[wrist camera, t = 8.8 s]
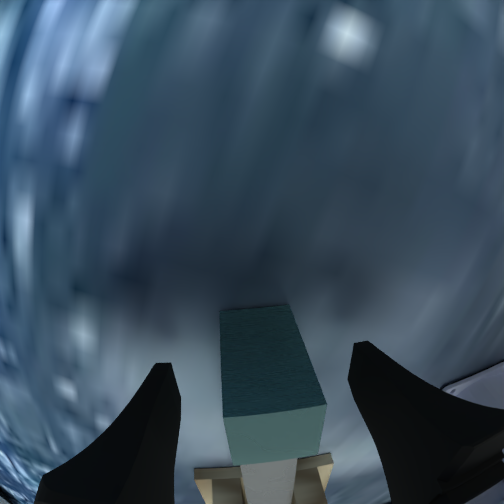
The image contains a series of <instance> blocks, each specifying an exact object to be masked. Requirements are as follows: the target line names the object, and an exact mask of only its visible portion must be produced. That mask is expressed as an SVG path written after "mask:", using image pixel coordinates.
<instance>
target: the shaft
mask: <svg viewBox="0 0 504 504" xmlns="http://www.w3.org/2000/svg"><path fill="white" fill-rule="evenodd" d="M220 348H221V378H222V403H223V419H224V425H225V429H226V434H227V439H228V444H229V449H230V453H231V458H232V463H233V466H235V465H240V467H241V472H242V478H243V483H244V488H245V493H246V498H247V503H248V504H291V503H292V496H293V489H294V482H295V474H296V466H297V458H300V457H306V456H311V455H317V454H318V449H319V445H320V440H321V434H322V429H323V424H324V419H325V413H326V407H327V403H326V400H325V398H324V395H323V392H322V390H321V387H320V384H319V382H318V379H317V376H316V374H315V371H314V368H313V366H312V363H311V361H310V358H309V355H308V353H307V350H306V347H305V345H304V342H303V340H302V337H301V334H300V332H299V329H298V327H297V324H296V321H295V319H294V316H293V314H292V311H291V309H290V306H289V305H281V306H272V307H262V308H252V309H241V310H230V311H220Z"/></svg>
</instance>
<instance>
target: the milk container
mask: <svg viewBox="0 0 504 504" xmlns="http://www.w3.org/2000/svg"><path fill="white" fill-rule="evenodd" d="M0 504H13V503H12V502H11V501H10V500H9V499H8V498H7V497H6V496H5V495H4V494H3V493H1V492H0Z"/></svg>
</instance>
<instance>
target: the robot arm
mask: <svg viewBox="0 0 504 504" xmlns="http://www.w3.org/2000/svg"><path fill="white" fill-rule="evenodd" d="M348 382H349V385H350V388H351V392H352V395H353V398H354V400H355V402H356V405H357V407H358V409H359V411H360V413H361V415H362V417H363V419H364V421H365V423H366V425H367V427H368V429H369V431H370V434H371V436H372V438H373V440H374V442H375V445H376V447H377V450H378V453H379V456H380V459H381V462H382V466H383V469H384V473H385V476H386V480H387V484H388V488H389V492H390V497H391V502H392V504H504V362H502V363H499V364H497V365H495V366H493V367H491V368H489V369H487V370H484V371H482V372H480V373H478V374H475V375H473V376H471V377H468V378H466V379H463V380H461V381H458V382H456V383H453V384H451V385H448V386H446V387H445V388H443V389H442V390H440V389H438V388H436V387H434V386H433V385H431V384H429V383H427V382H425V381H424V380H422V379H420V378H419V377H417V376H416V375H414V374H412V373H411V372H409V371H408V370H407V369H405V368H404V367H402V366H401V365H399V364H398V363H397V362H395V361H394V360H393V359H391V358H390V357H389V356H387V355H386V354H385V353H383V352H382V351H381V350H379V349H378V348H377V347H376V346H374V345H373V344H372V343H370V342H369V341H363V342H358V343H354V346H353V352H352V358H351V363H350V369H349V374H348ZM180 421H181V396H180V393H179V389H178V386H177V382H176V379H175V375H174V372H173V368H172V364H171V363H156V364H155V365H154V366H153V368H152V369H151V371H150V372H149V374H148V376H147V377H146V379H145V380H144V382H143V383H142V385H141V386H140V388H139V389H138V391H137V392H136V393H135V395H134V396H133V398H132V399H131V401H130V402H129V403H128V404H127V406H126V407H125V408H124V410H123V411H122V412H121V413H120V415H119V416H118V417H117V418H116V419H115V420H114V422H113V423H112V424H111V425H110V426H109V427H108V428H107V429H106V430H105V431H104V432H103V433H102V434H101V435H100V436H99V437H98V438H97V439H96V440H95V441H94V442H92V443H91V444H90V445H89V446H88V447H87V448H85V449H84V450H83V451H81V452H80V453H79V454H77V455H76V456H75V457H73V458H72V459H70V460H69V461H67V462H66V463H64V464H62V465H61V466H59V467H57V468H55V469H54V470H52V471H50V472H48V473H46V474H44V475H43V476H42V479H41V481H40V484H39V487H38V491H37V494H36V498H35V501H34V504H174V467H175V458H176V451H177V444H178V436H179V429H180Z"/></svg>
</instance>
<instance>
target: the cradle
mask: <svg viewBox="0 0 504 504" xmlns="http://www.w3.org/2000/svg"><path fill="white" fill-rule="evenodd" d="M333 464H334V463H333V460H332V457H331V454H330V453H329V454H324V455H319V456H314V457H309V458H303V459H297V466H296V474H295V482H294V489H293V496H292V503H291V504H328V503H327V500H326V496H325V493H324V491H325V488H326V485H327V482H328V480H329V477H330V473H331V470H332V467H333ZM194 480H195V482H196V484H197V486H198V488H199V490H200V492H201V494H202V496H203V498H204V500H205V502H206V504H248V503H247V498H246V493H245V488H244V483H243V478H242V472H241V467H228V468H207V469H194Z"/></svg>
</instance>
